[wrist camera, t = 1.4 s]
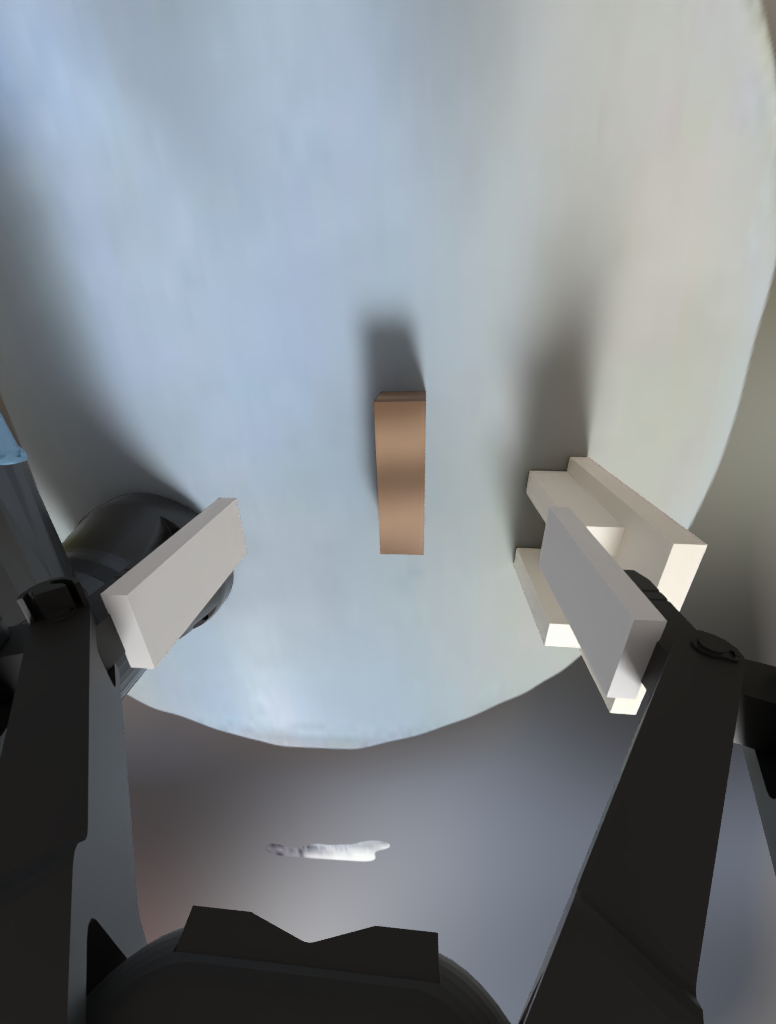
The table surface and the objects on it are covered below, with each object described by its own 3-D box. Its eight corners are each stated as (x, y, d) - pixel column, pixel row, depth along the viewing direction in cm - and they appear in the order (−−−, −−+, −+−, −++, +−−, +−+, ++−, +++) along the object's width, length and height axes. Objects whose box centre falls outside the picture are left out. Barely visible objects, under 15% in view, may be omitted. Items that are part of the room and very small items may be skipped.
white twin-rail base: (511, 576, 36) (559, 709, 23) (532, 456, 30) (608, 541, 18) (560, 579, 35) (635, 714, 23) (589, 457, 30) (707, 545, 18)
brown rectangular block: (423, 526, 34) (423, 554, 30) (386, 525, 35) (380, 553, 30) (425, 391, 29) (425, 401, 25) (381, 391, 30) (373, 401, 25)
